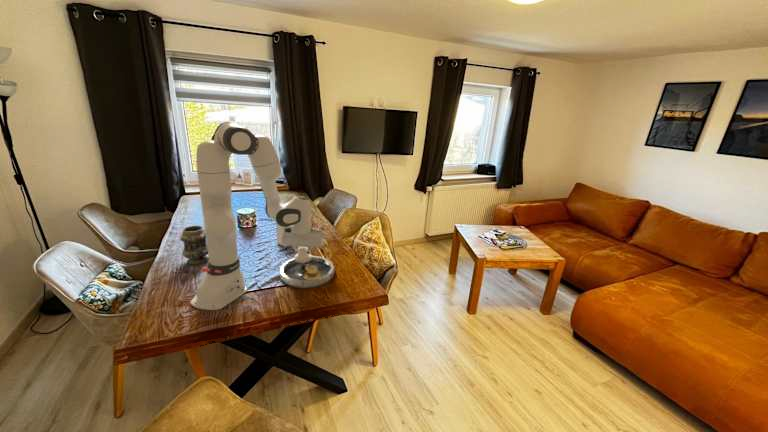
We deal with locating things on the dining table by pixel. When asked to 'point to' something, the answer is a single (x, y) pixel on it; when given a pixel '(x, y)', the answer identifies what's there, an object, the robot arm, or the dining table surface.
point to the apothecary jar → (194, 245)
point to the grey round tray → (307, 272)
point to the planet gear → (302, 255)
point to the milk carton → (279, 234)
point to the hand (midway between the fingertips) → (302, 253)
